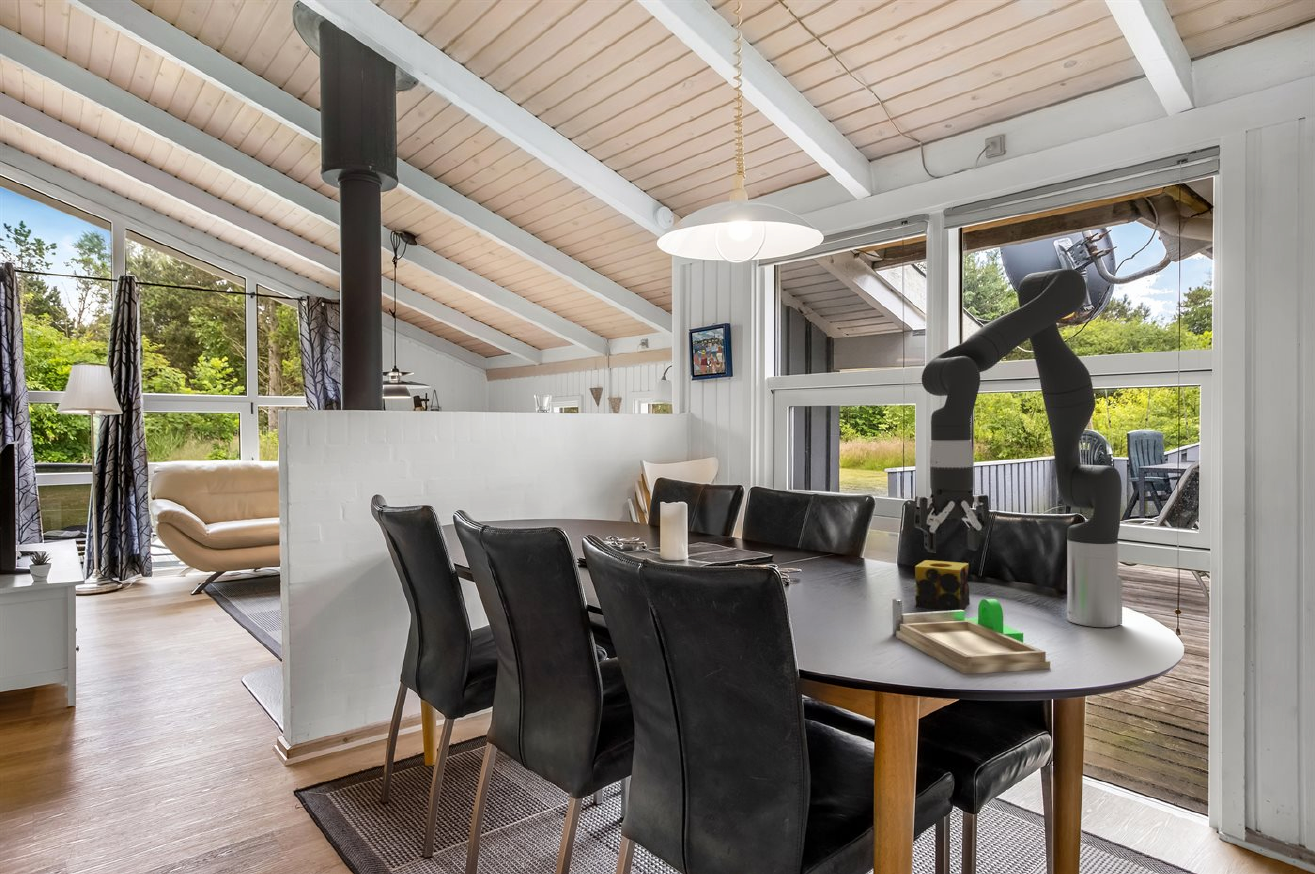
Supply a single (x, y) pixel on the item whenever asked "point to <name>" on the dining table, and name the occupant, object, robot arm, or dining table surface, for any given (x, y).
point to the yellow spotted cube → (942, 585)
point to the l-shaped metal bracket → (922, 616)
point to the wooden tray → (972, 647)
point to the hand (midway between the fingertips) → (952, 550)
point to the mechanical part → (994, 619)
